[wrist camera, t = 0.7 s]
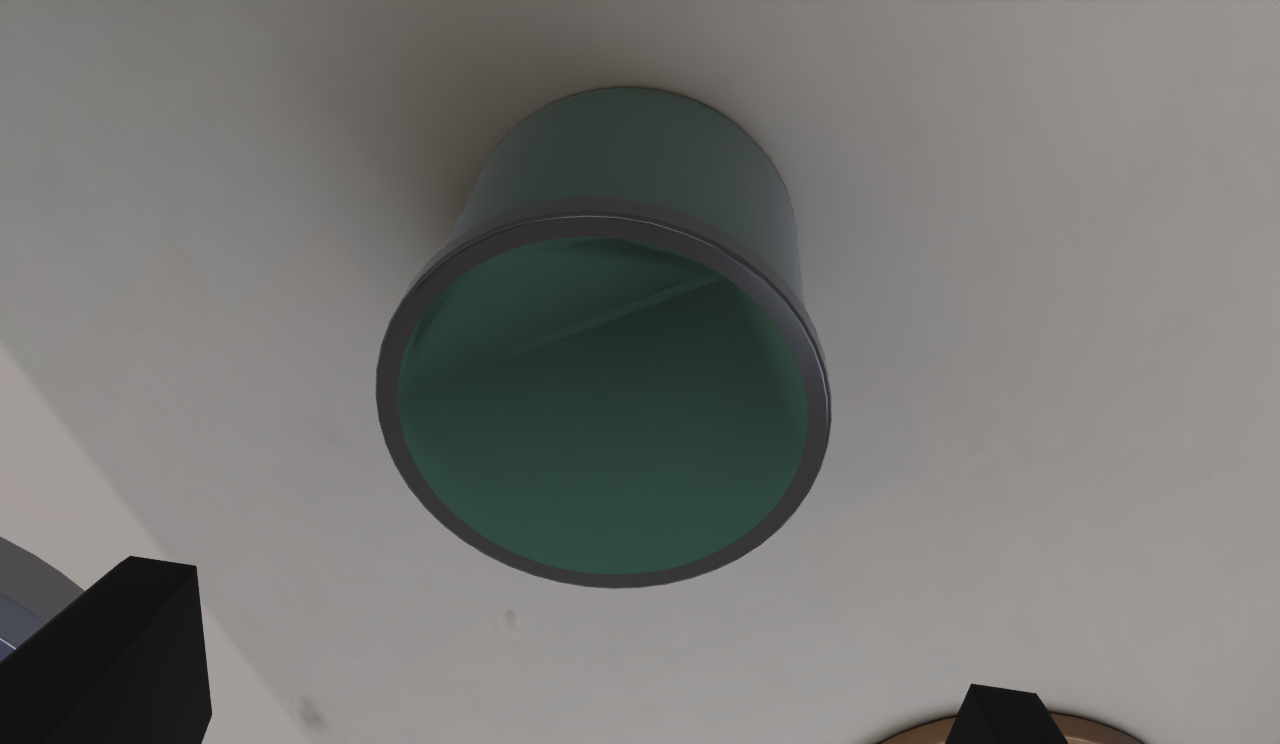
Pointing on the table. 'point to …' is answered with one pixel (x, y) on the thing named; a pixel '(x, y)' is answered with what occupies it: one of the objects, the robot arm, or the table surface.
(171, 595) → the robot arm
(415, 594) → the table surface
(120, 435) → the table surface
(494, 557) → the pot
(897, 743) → the coaster
